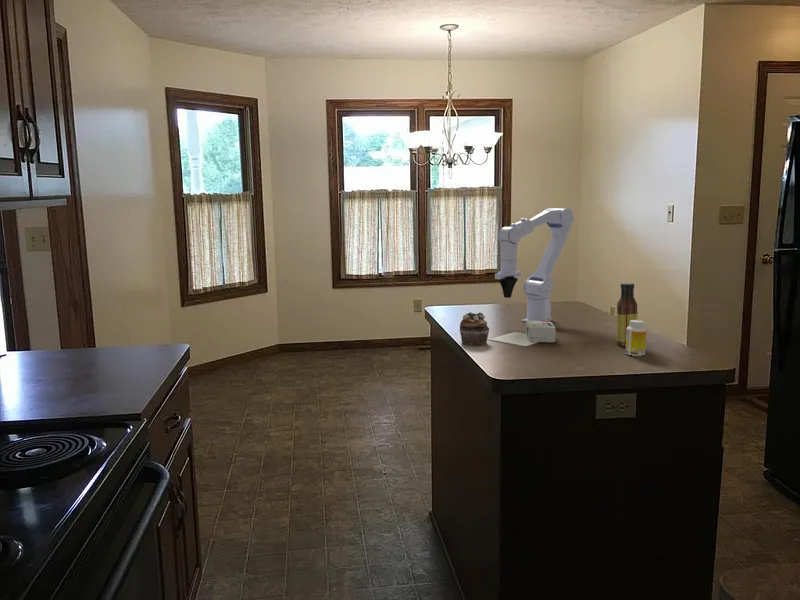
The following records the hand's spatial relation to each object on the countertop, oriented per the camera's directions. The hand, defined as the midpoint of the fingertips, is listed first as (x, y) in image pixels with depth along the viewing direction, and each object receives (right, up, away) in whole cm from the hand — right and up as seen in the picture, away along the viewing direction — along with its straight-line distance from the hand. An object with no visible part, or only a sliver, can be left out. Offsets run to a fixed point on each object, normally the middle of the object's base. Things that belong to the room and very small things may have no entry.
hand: (507, 297), depth 236 cm
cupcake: (-15, -15, -27) cm, 34 cm away
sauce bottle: (+33, -16, -31) cm, 47 cm away
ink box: (+8, -10, -16) cm, 20 cm away
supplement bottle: (+31, -17, -43) cm, 55 cm away
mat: (+1, -14, -21) cm, 25 cm away
